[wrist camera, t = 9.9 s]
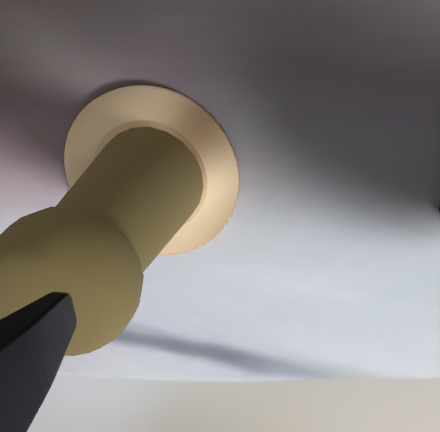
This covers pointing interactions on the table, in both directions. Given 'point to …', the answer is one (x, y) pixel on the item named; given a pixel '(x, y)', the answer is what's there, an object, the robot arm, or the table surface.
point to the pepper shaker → (103, 234)
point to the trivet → (178, 127)
